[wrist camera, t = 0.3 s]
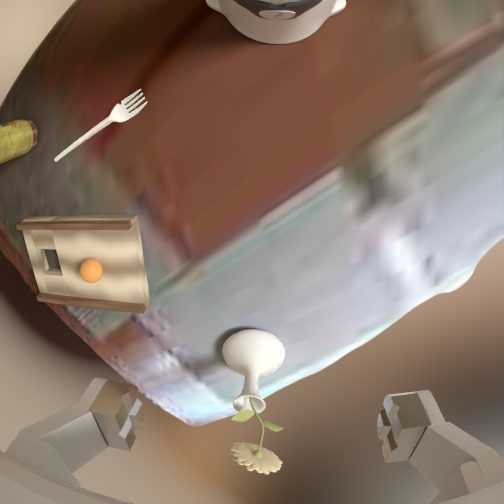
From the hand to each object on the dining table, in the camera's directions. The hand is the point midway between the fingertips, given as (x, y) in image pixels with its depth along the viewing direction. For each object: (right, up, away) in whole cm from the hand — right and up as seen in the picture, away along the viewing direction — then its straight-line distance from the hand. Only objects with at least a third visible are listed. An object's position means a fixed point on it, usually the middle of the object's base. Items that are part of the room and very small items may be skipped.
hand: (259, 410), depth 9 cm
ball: (-26, +2, +39) cm, 47 cm away
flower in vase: (+1, -13, +50) cm, 51 cm away
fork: (-24, +24, +34) cm, 48 cm away
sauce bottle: (-39, +25, +34) cm, 58 cm away
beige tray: (-30, +4, +43) cm, 53 cm away
